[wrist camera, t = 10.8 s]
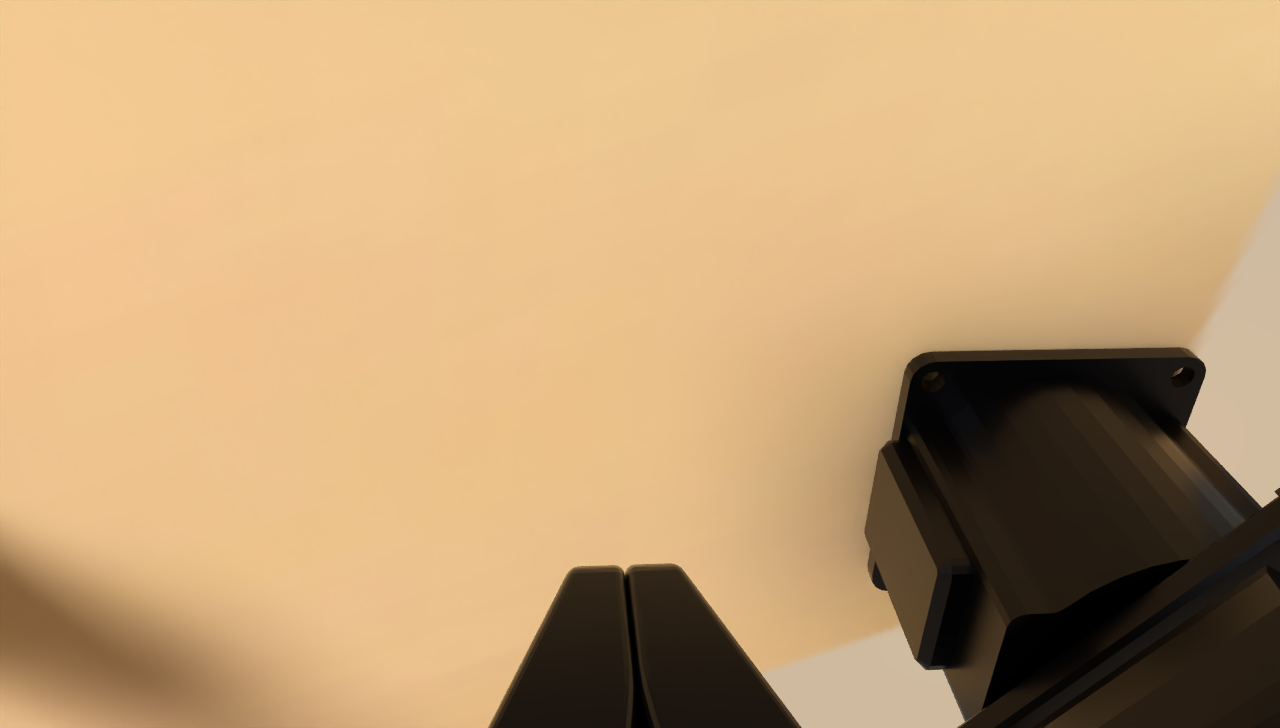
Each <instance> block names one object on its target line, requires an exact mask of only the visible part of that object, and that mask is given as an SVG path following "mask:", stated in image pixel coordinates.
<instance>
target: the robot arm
mask: <svg viewBox="0 0 1280 728" xmlns="http://www.w3.org/2000/svg"><path fill="white" fill-rule="evenodd" d="M1183 367H1184V368H1183ZM1180 368H1183V370H1182V371H1181V372H1180V373H1179V374H1177V375H1176V376H1173V377H1172V375H1173V374H1174V372H1175V371H1177V370H1178V369H1180ZM935 371H936V372H939V373H938V374H937V376H936V377H935V378H934V379H933V380H931V381H928V382H922V379H923V377H924V376H926V375H927V374H928V373H931V372H935ZM1205 373H1206V368H1205V365H1204V363H1203V362H1202V361H1201V360H1200V359H1199V358H1198V357H1197V356H1196V355H1195V354H1194V353H1192V352H1191V351H1190V350H1188V349H1185V348H1129V349H1071V350H1012V351H953V352H928V353H922V354H920V355H918V356H917V357H915V358H913V359H912V360H911V362H910V363H909V364H908V365H907V367H906V369H905V372H904V377H903V382H902V387H901V392H900V397H899V403H898V408H897V413H896V418H895V424H894V429H893V434H892V439H891V441H888V442H886V444H885V445H884V446H883V447H882V448H881V449H880V451H879V455H878V460H877V466H876V471H875V477H874V482H873V488H872V493H871V498H870V504H869V509H868V515H867V520H866V526H865V536H866V539H867V541H868V544H869V546H870V549H871V550H870V555H869V560H868V572H869V575H870V577H871V580H872V582H873V584H874V585H875V587H877V588H879V589H881V590H885V591H888V594H889V596H890V599H891V601H892V604H893V606H894V609H895V611H896V614H897V616H898V619H899V621H900V624H901V626H902V629H903V631H904V634H905V636H906V639H907V641H908V644H909V646H910V648H911V651H912V654H913V656H914V658H915V660H916V661H917V662H918V663H919V664H920V665H921V666H922V667H923V668H924V669H925V670H939V669H943V671H944V673H945V676H946V678H947V680H948V683H949V685H950V687H951V689H952V692H953V694H954V697H955V699H956V701H957V704H958V706H959V708H960V711H961V713H962V715H963V718H964V720H965V722H964V723H963V724H961V725H960V726H959V727H957V728H1280V488H1279V489H1277V490H1276V491H1275V493H1276V494H1277V495H1278V497H1277V498H1276V499H1274V500H1273V501H1271V502H1270V503H1269V504H1267V505H1266V506H1264V507H1263V508H1262V507H1261V506H1260V505H1259V504H1258V503H1257V502H1256V501H1255V500H1254V499H1253V498H1252V497H1251V496H1250V495H1249V494H1248V492H1247V491H1246V490H1245V489H1244V488H1243V487H1242V486H1241V485H1240V484H1239V483H1238V482H1237V481H1236V480H1235V479H1234V478H1233V477H1232V476H1231V475H1230V474H1229V473H1228V472H1227V471H1226V470H1225V468H1224V467H1223V466H1222V465H1220V463H1219V462H1218V461H1217V460H1216V459H1215V458H1214V457H1213V456H1212V455H1211V454H1210V453H1209V452H1208V451H1207V450H1206V449H1205V448H1204V446H1202V444H1201V443H1200V442H1199V441H1198V440H1197V439H1196V438H1195V437H1194V436H1193V435H1192V434H1191V433H1190V432H1189V431H1188V430H1187V429H1186V425H1187V423H1188V420H1189V417H1190V414H1191V412H1192V409H1193V406H1194V404H1195V401H1196V399H1197V396H1198V393H1199V391H1200V388H1201V385H1202V383H1203V380H1204V377H1205ZM488 728H801V726H799V724H798V722H797V721H796V720H795V718H794V717H793V716H792V714H791V713H790V712H789V710H788V709H787V708H786V707H785V705H784V704H783V702H782V701H781V700H780V698H779V697H778V696H777V694H776V693H775V692H774V690H773V689H772V688H771V686H770V685H769V684H768V683H767V681H766V680H765V678H764V677H763V676H762V674H761V673H760V672H759V670H758V669H757V668H756V666H755V665H754V664H753V662H752V661H751V660H750V658H749V657H748V656H747V654H746V653H745V652H744V650H743V649H742V648H741V646H740V645H739V644H738V642H737V641H736V640H735V638H734V637H733V636H732V634H731V633H730V632H729V630H728V629H727V628H726V626H725V625H724V624H723V622H722V621H721V620H720V618H719V617H718V616H717V614H716V613H715V612H714V610H713V609H712V608H711V606H710V605H709V604H708V602H707V601H706V600H705V598H704V597H703V596H702V594H701V593H700V592H699V590H698V589H697V588H696V586H695V585H694V584H693V582H692V581H691V580H690V578H689V577H688V576H687V574H686V573H685V572H684V571H683V569H682V568H681V567H679V566H678V565H675V564H641V565H631V566H630V567H629V568H628V569H627V571H626V572H625V574H624V571H623V570H622V568H620V567H619V566H615V565H610V566H581V567H575V568H573V569H571V570H570V571H569V572H568V574H567V575H566V577H565V579H564V581H563V583H562V585H561V587H560V588H559V590H558V592H557V594H556V596H555V598H554V600H553V602H552V604H551V606H550V608H549V610H548V612H547V614H546V616H545V618H544V620H543V622H542V624H541V626H540V628H539V630H538V631H537V633H536V635H535V637H534V639H533V641H532V643H531V645H530V647H529V649H528V651H527V653H526V655H525V657H524V659H523V661H522V663H521V665H520V667H519V669H518V671H517V673H516V675H515V676H514V678H513V680H512V682H511V684H510V686H509V688H508V690H507V692H506V694H505V696H504V698H503V700H502V702H501V704H500V706H499V708H498V710H497V712H496V714H495V716H494V718H493V719H492V721H491V723H490V725H489V727H488Z"/></svg>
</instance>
